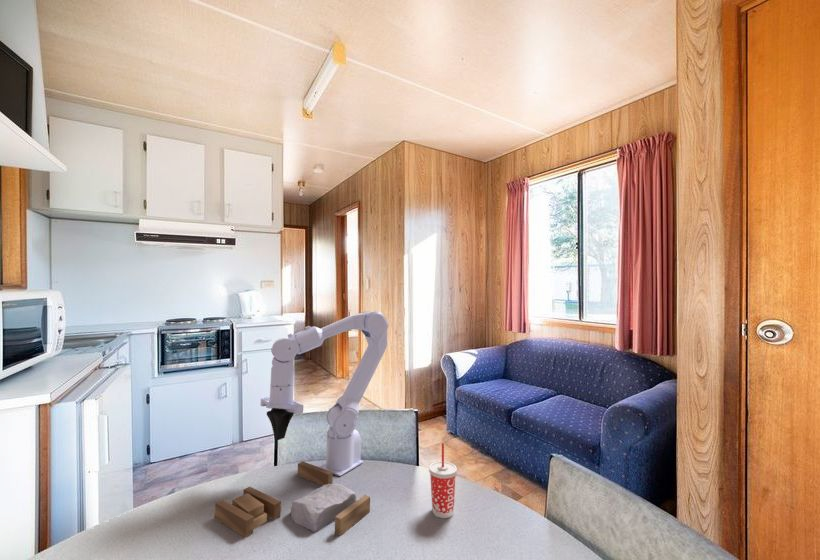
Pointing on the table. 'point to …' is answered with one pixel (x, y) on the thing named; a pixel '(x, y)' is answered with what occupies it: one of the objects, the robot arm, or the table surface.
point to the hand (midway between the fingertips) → (279, 438)
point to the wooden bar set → (272, 506)
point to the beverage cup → (442, 487)
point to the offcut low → (260, 520)
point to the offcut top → (249, 505)
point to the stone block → (322, 506)
